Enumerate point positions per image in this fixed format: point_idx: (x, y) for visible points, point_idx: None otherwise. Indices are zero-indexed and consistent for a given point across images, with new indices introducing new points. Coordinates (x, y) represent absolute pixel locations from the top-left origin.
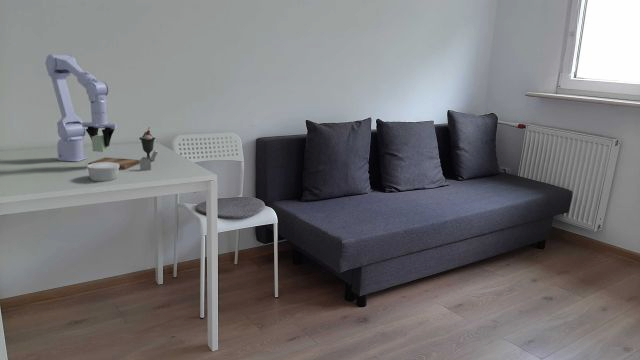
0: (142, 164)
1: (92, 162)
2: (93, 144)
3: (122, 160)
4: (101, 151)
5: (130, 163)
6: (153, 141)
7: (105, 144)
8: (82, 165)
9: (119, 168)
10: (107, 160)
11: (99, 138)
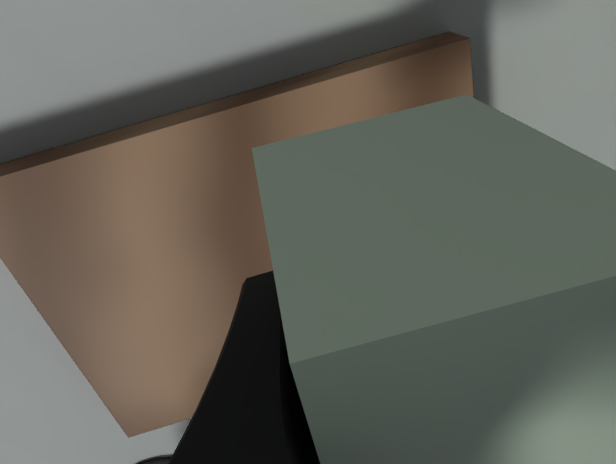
0: None
1: (446, 95)
2: (511, 143)
3: None
4: (279, 143)
5: (38, 306)
6: None
7: (255, 295)
8: (550, 43)
9: (45, 152)
10: None
11: (378, 297)
